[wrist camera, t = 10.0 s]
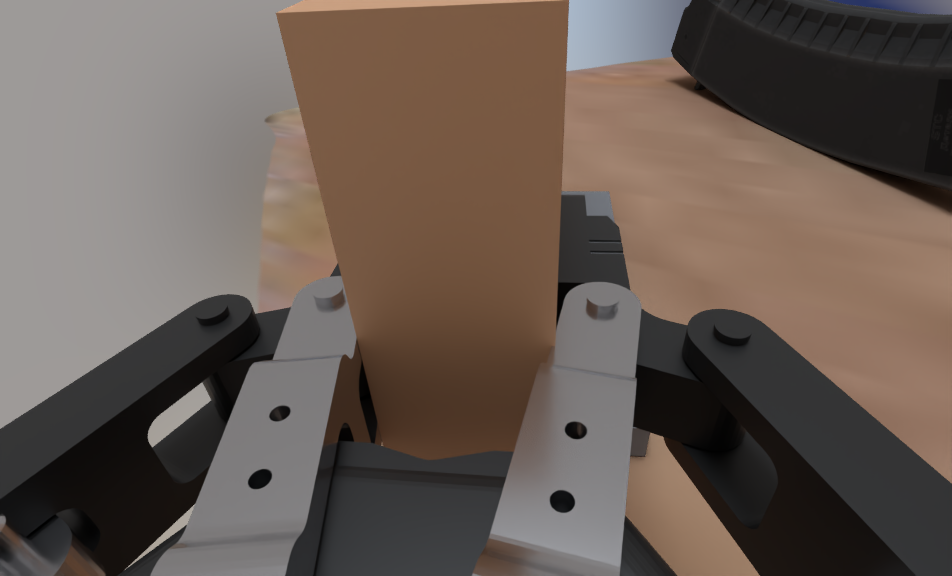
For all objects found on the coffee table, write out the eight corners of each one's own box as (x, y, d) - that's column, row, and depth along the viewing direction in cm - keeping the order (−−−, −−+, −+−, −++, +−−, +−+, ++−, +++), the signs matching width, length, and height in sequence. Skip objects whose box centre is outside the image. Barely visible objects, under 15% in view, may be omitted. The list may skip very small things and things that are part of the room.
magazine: (1155, 54, 24) (766, -147, 42) (1100, 63, 24) (729, -144, 41) (907, 286, 38) (691, 62, 55) (868, 296, 37) (663, 66, 55)
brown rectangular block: (547, 390, 20) (561, -63, 12) (544, 629, 13) (569, 0, 5) (466, 386, 20) (424, -55, 12) (426, 616, 14) (275, 12, 6)
